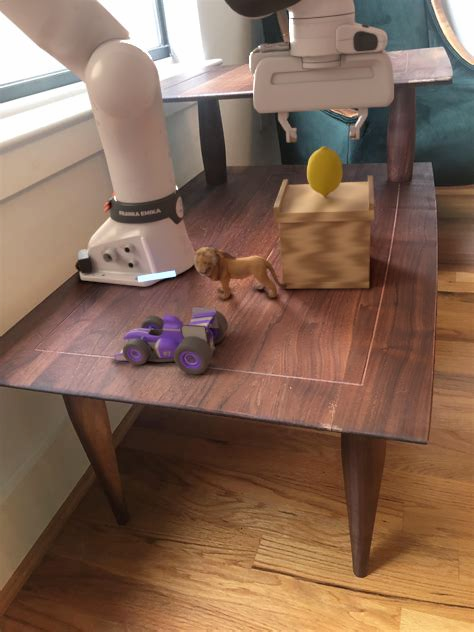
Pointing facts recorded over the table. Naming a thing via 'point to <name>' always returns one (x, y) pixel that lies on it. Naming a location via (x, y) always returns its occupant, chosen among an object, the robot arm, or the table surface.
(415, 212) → the table surface
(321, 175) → the lemon
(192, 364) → the toy race car
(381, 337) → the table surface
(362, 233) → the wooden crate box
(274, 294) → the lion figurine
